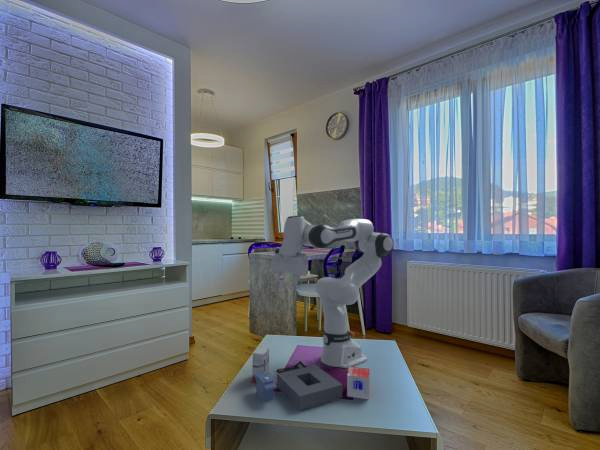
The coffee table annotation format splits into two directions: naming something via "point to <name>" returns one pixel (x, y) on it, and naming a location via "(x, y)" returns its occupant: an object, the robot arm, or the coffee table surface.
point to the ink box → (260, 361)
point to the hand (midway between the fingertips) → (287, 283)
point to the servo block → (264, 386)
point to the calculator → (297, 366)
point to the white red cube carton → (358, 382)
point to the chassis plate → (309, 387)
